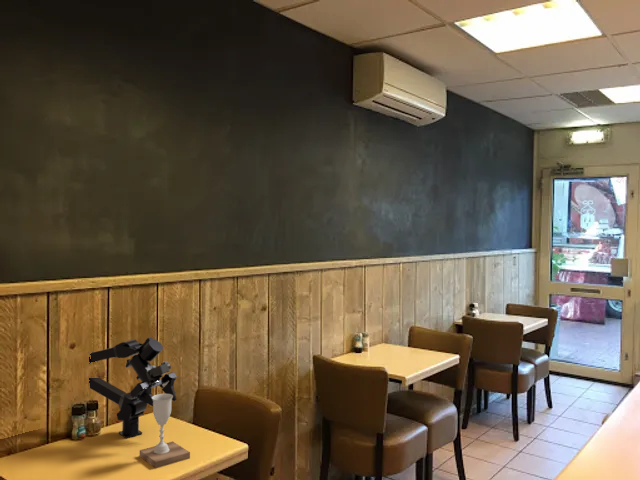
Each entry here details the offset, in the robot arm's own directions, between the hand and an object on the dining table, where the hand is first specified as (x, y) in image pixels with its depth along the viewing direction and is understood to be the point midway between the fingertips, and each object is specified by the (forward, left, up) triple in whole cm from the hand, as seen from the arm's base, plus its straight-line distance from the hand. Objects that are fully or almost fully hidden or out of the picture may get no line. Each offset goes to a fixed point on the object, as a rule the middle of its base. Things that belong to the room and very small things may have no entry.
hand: (166, 404), depth 195 cm
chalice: (+11, -7, -12) cm, 17 cm away
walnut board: (+12, -7, -14) cm, 19 cm away
